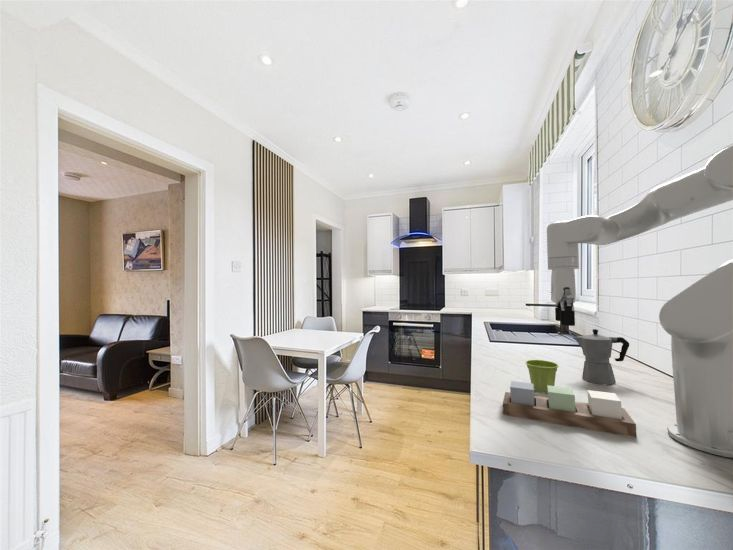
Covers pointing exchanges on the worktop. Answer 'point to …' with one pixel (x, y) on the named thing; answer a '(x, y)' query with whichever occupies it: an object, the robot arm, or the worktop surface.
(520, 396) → the grey button
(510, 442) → the worktop surface
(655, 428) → the worktop surface
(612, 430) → the button housing
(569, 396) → the sage button
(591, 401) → the white button
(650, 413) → the worktop surface
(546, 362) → the plant pot
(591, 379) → the coffeepot
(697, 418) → the robot arm
